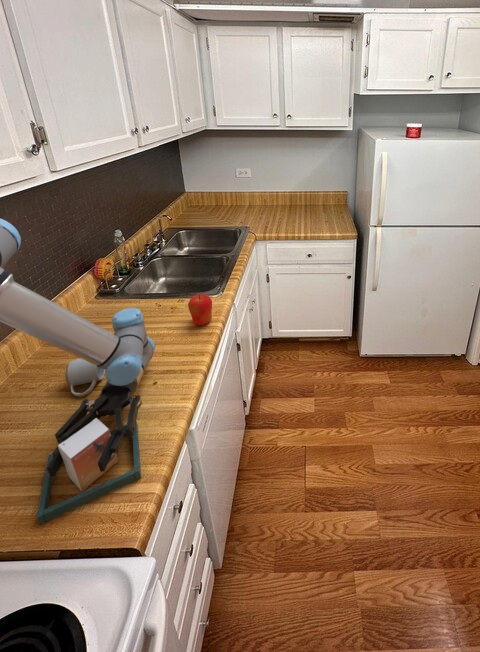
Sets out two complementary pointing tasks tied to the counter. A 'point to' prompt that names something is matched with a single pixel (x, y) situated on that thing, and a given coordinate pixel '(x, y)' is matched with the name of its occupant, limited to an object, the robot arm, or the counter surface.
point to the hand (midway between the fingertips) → (75, 469)
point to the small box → (86, 453)
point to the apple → (200, 309)
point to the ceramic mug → (82, 374)
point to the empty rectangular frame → (89, 495)
